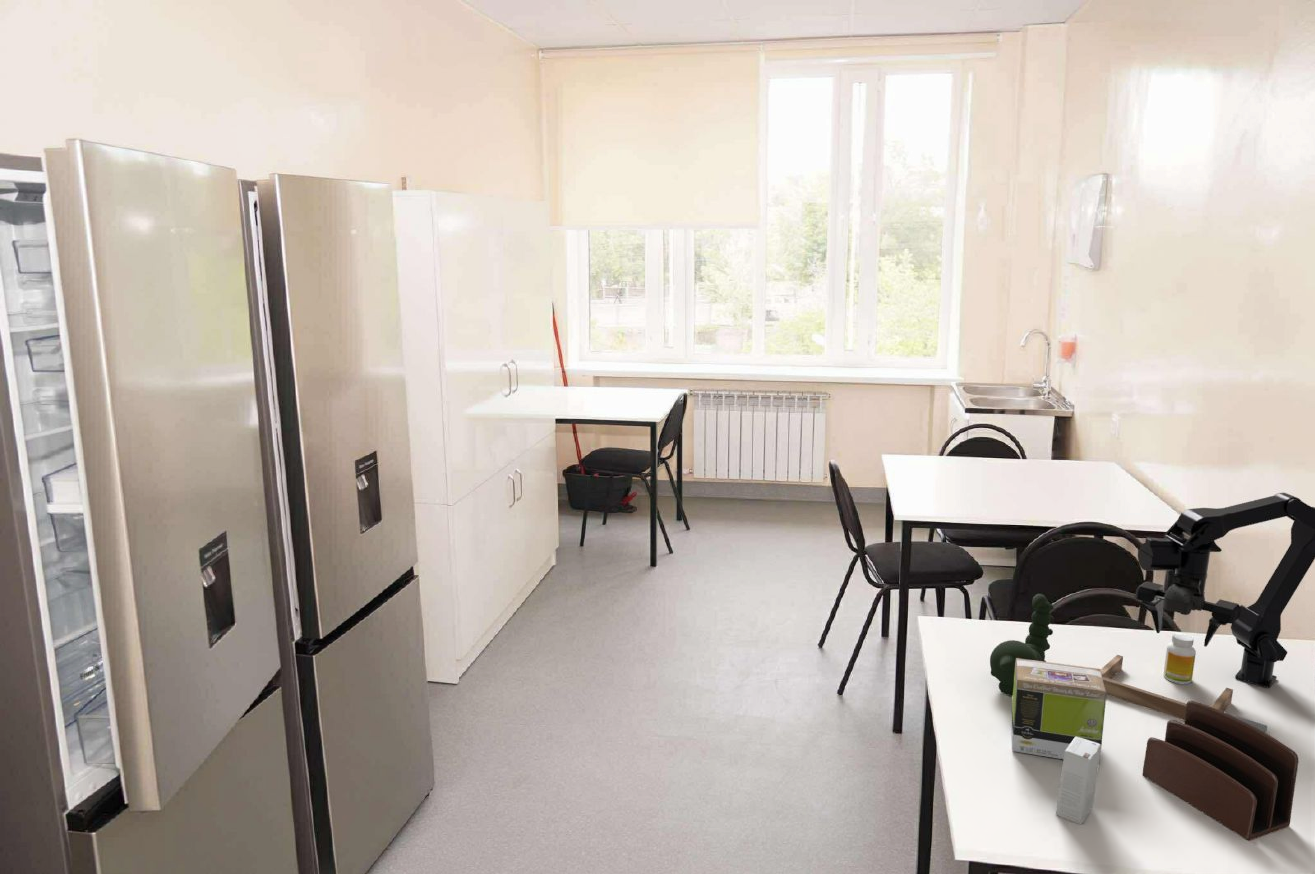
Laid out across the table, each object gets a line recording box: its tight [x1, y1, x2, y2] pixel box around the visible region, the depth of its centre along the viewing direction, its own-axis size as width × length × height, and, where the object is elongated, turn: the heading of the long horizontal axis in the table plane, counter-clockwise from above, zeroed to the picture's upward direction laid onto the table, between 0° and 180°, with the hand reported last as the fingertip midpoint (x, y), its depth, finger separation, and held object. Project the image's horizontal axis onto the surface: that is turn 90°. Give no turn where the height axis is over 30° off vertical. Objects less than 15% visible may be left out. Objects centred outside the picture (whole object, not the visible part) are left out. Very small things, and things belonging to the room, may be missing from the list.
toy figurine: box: [989, 593, 1055, 697], centre depth 195 cm, size 9×19×25 cm
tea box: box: [1010, 658, 1107, 765], centre depth 171 cm, size 15×10×15 cm, turn 71°
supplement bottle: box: [1163, 632, 1197, 685], centre depth 198 cm, size 5×5×10 cm
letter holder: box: [1142, 700, 1300, 842], centre depth 155 cm, size 10×20×14 cm, turn 23°
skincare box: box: [1055, 737, 1102, 825], centre depth 152 cm, size 6×4×12 cm
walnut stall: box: [1099, 654, 1234, 721], centre depth 192 cm, size 14×22×3 cm, turn 45°
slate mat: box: [1226, 712, 1268, 733], centre depth 178 cm, size 10×7×1 cm
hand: (1181, 639), depth 198 cm, fingers open, 9 cm apart
